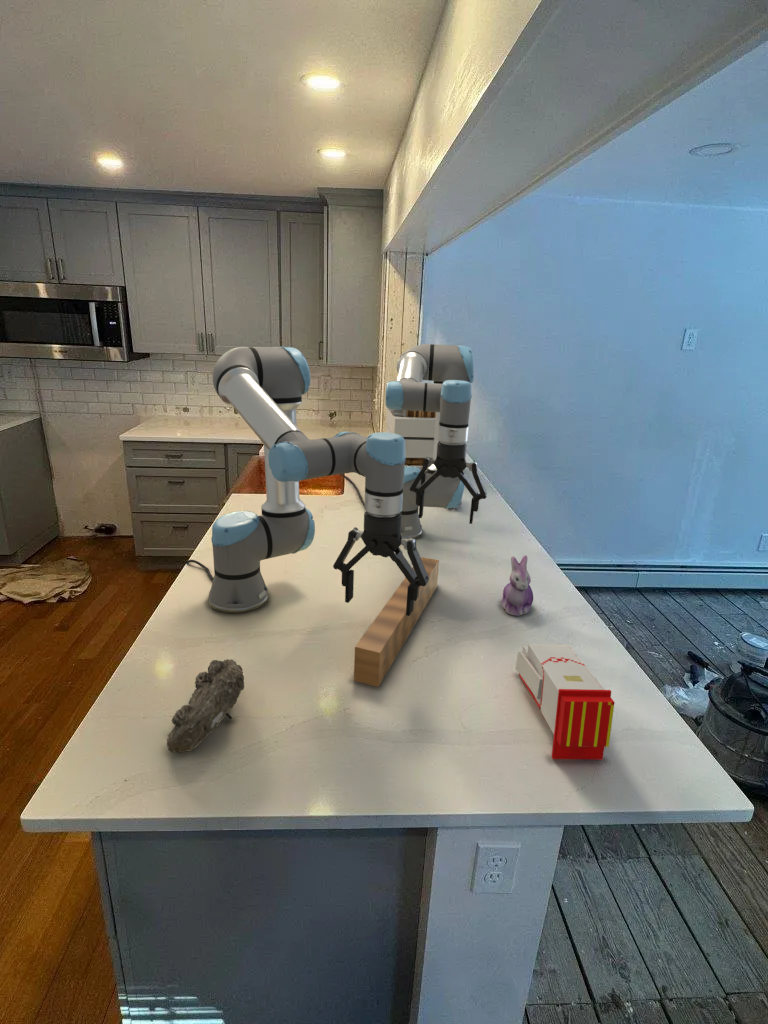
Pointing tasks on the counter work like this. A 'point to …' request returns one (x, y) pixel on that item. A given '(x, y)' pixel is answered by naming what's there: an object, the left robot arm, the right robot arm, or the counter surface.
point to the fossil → (206, 705)
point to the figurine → (518, 589)
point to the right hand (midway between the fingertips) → (445, 519)
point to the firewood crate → (413, 433)
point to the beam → (391, 629)
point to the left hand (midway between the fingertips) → (378, 606)
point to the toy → (568, 700)
